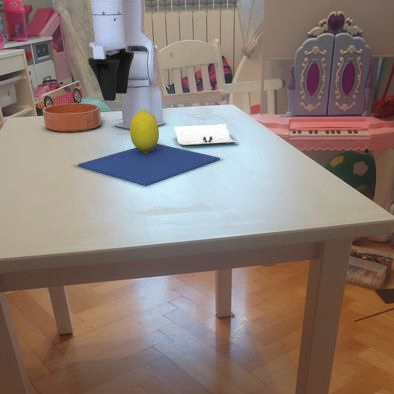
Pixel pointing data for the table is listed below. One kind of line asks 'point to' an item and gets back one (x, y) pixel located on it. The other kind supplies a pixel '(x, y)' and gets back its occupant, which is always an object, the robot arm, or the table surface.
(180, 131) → the white square plate
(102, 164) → the cloth
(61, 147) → the table surface
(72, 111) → the bowl
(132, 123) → the lemon
